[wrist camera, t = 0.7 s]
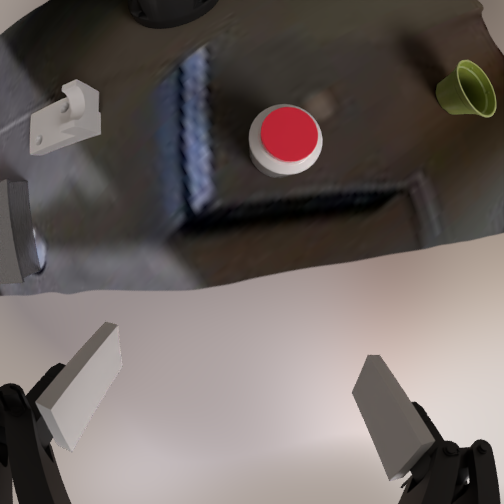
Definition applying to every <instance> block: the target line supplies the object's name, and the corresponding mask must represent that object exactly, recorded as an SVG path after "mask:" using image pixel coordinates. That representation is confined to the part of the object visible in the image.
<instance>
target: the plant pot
mask: <svg viewBox="0 0 504 504" xmlns="http://www.w3.org/2000/svg"><path fill="white" fill-rule="evenodd" d="M436 97H437V100H438V102H439V104H440V105H441V107H442V108H443V109H444V110H446V111H447V112H448V113H449V114H477V115H481V116H483V117H490V116H492V115H493V114H494V113H495V110H496V97H495V93H494V90H493V87H492V85H491V83H490V81H489V79H488V77H487V76H486V74H485V73H484V72H483V71H482V69H481V68H480V67H479V66H477V65H476V64H475V63H473V62H471V61H469V60H462V61H460V62H459V63H458V64H457V67H456V68H455V70H454V71H453V72H452V73H451V74H450V75H448V76H447V77H446V78H444V79H443V80H442V81H441V82H439V83H438V84H437V88H436Z"/></svg>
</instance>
